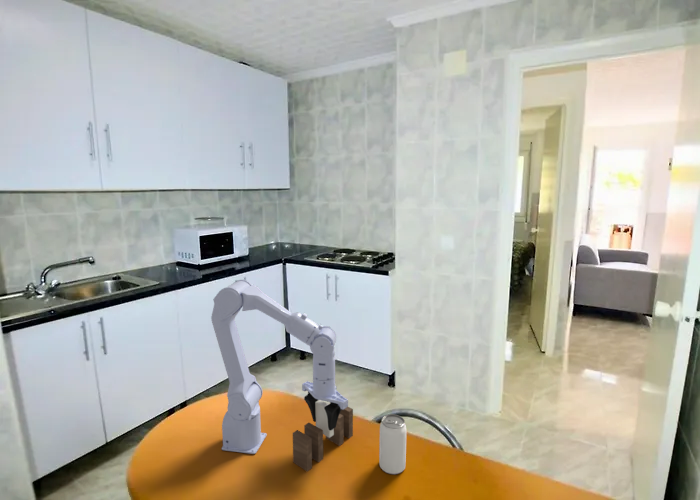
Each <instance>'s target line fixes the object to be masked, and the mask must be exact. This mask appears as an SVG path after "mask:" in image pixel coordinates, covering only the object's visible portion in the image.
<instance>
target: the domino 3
mask: <svg viewBox="0 0 700 500" xmlns="http://www.w3.org/2000/svg"><path fill="white" fill-rule="evenodd" d="M329 404H330V403H328V402H327V401H322V400H318V401H316V402H315V412H316V422H315V426H316V427H318V428H320V429H322V430H323V436H325V437H326V436H327V437H329V438H330V437H332V436H333V435H334V429H332V430H329V428H328V418H327V414H326V411H325V409H324V407H325V406H327V405H329Z"/></svg>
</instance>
